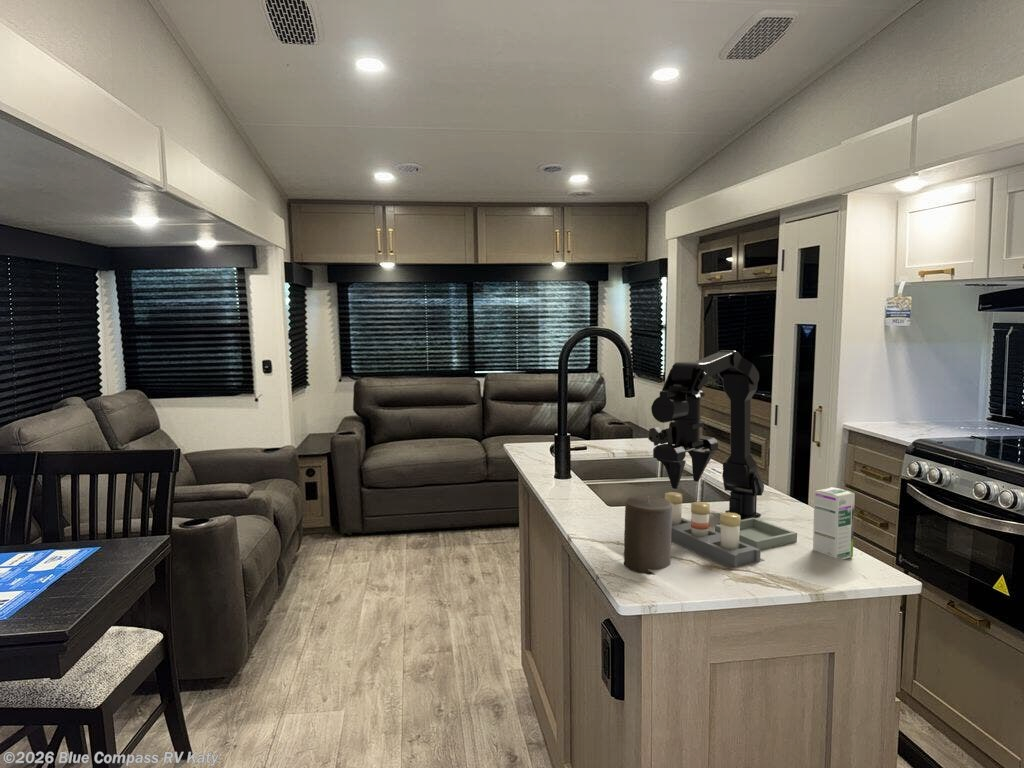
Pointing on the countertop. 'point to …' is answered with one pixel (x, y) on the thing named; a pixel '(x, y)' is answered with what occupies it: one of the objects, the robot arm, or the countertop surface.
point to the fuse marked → (700, 519)
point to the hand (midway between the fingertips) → (685, 484)
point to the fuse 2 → (730, 531)
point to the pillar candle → (647, 533)
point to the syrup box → (834, 522)
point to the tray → (762, 534)
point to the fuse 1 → (675, 506)
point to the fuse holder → (713, 547)
